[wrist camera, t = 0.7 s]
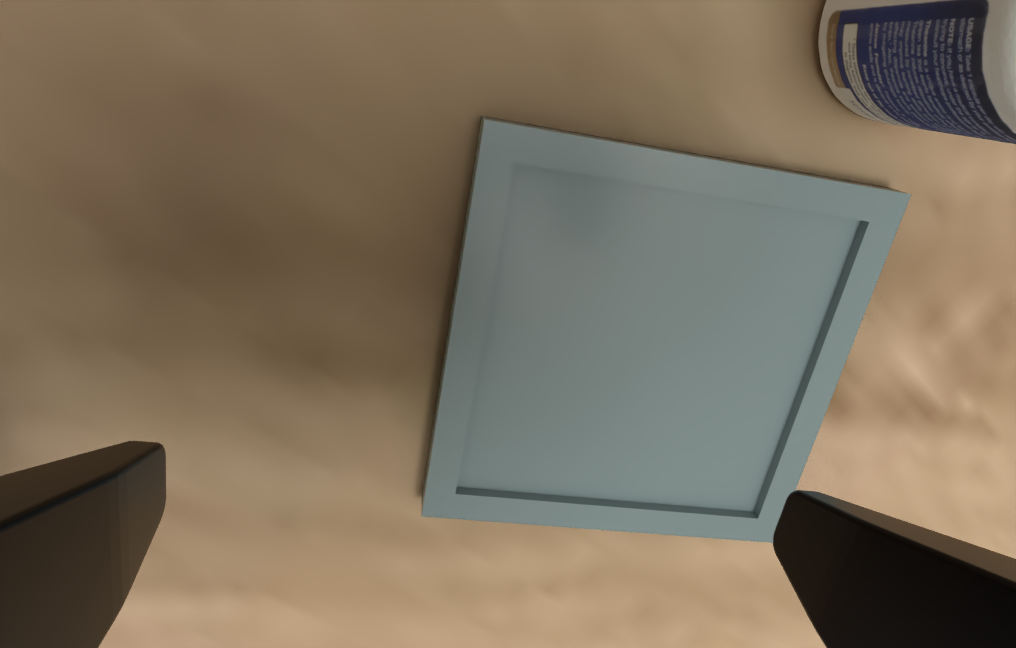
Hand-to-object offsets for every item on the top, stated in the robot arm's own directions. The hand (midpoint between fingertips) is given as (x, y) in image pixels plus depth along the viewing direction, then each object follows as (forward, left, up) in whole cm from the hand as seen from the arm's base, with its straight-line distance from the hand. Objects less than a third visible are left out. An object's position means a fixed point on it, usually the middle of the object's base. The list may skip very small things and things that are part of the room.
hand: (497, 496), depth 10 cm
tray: (+6, -2, -12) cm, 14 cm away
